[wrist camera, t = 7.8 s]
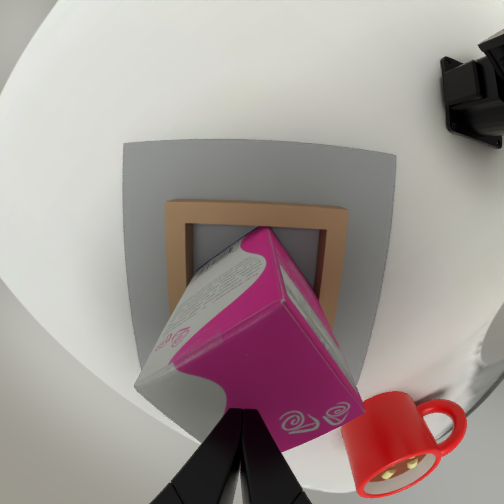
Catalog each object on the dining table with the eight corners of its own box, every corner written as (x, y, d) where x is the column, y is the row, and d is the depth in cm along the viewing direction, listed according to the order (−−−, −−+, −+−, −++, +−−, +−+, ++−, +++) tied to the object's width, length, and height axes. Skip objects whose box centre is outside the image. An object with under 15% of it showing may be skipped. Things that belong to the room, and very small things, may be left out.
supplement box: (246, 335, 20) (233, 472, 9) (194, 269, 19) (120, 381, 8) (317, 291, 19) (370, 417, 8) (266, 218, 18) (276, 289, 7)
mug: (444, 407, 23) (473, 453, 15) (347, 450, 24) (362, 506, 17) (447, 359, 21) (488, 409, 14) (333, 411, 23) (351, 478, 15)
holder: (392, 155, 17) (410, 153, 15) (355, 380, 22) (363, 399, 19) (127, 144, 17) (109, 140, 15) (144, 369, 22) (133, 387, 19)
